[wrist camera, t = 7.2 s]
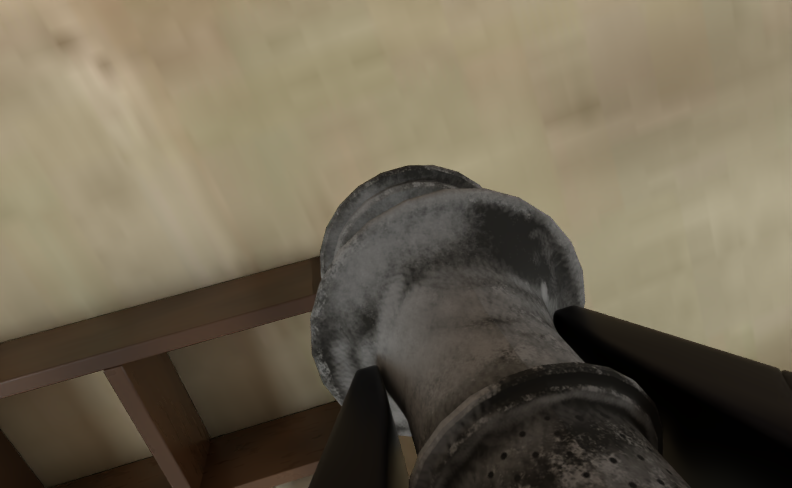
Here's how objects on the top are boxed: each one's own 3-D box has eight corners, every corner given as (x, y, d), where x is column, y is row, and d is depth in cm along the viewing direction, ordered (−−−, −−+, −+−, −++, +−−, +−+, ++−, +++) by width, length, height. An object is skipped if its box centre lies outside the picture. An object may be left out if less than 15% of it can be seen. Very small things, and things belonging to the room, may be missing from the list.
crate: (324, 254, 21) (328, 290, 18) (400, 503, 28) (413, 562, 24) (-72, 361, 19) (-145, 422, 16) (113, 597, 26) (87, 673, 23)
